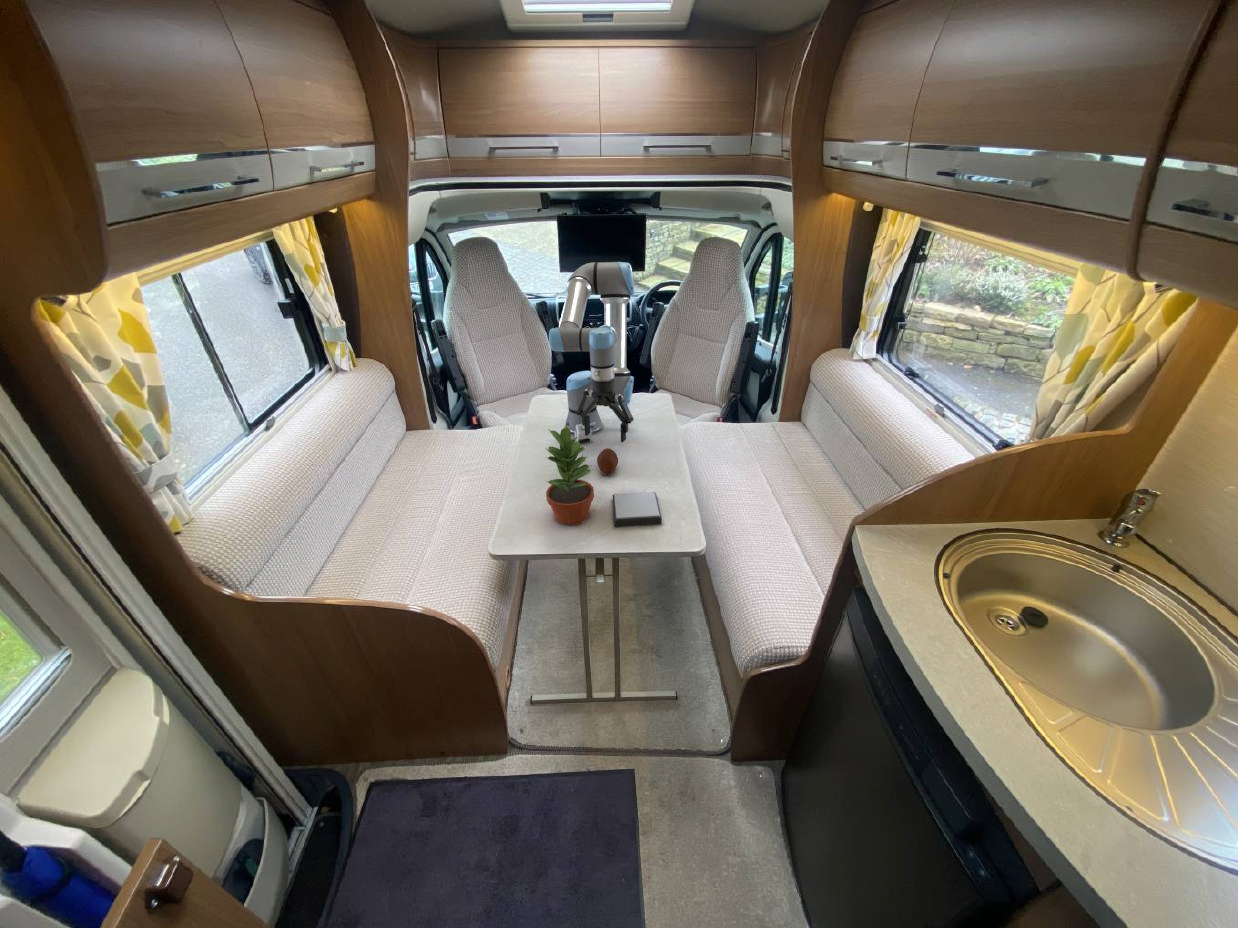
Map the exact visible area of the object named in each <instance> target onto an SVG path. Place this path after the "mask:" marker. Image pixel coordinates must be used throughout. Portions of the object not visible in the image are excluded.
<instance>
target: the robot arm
mask: <svg viewBox="0 0 1238 928" xmlns="http://www.w3.org/2000/svg"><path fill="white" fill-rule="evenodd" d="M566 282H567V283H566V287H565V291H566V297H565V301H564V304H563V309H562V312H561V317H560V320H559V325H558V327H554V328H553V327H552V328H551V329H550V330H549V333H548V344H549V348H550V350H551V351H554V352H562V353H565V352H589V359H590V360H589V361H590V370H582V371H577V372H574V373H572V374H570V375H569V376H568V377H567V379H566V388H565V390H566V393H567V406H568V413H567V417H566V420H565V426H566V425H567V427H568V428H569V429H570V430H571V435H575V433H574V431H575V430H576V425H578V424H582V425H583V426H584V427H585V436H587V435H588V434H590V429H591V431H592V435H593V434H596V433H598V432H599V431H601V430H602V428H603V422H602V421H603V420H602V419H601V415H600V414H599V411H598V406H600V407H606V408H607V407H608V408H609V409H610V410H612V412H613V413H614V414H615V416H616V417H617V418H618V419H619V421H620V422H621V424H620V443H624V442H625V441H626V440H627V433H628V432H629V424H631V423H632V422H634V416H633V414H632V411H631V410H630V408H629V406H628V405H630V404H631V401H632V397H633V396H632V395H633V389H634V380H635V377H634V376H632V375H631V371H630V370H629V369H628V367H627V318H628V317H627V311H628V309H627V307H628V306H627V305H628V303H630V301H631V300H632V299H631V298H632V297H631V296H634V295H635V284H634V282H635V281H634V275H633V269H632V265H631V264H630V263H629V262H624V261H623V262H622V261H607V262H606V261H605V262H589V263H588V262H587V263H585V264H582V265H581V266H579V267H578V268H577V269H576V270H575V271H574V272H572V274H571V275H570V276H569V278H568V280H567V281H566ZM591 296H599V298H600V301H601V303H603V305H604V307H603V308H604V309H603V311H604V313H603V314H604V316H603V317H604V319H603V320H604V324H603V325H601V326H598V327H582V326H583V321H584V317H585V312H586V307H587V302H588V300H589V298H590V297H591Z"/></svg>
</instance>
